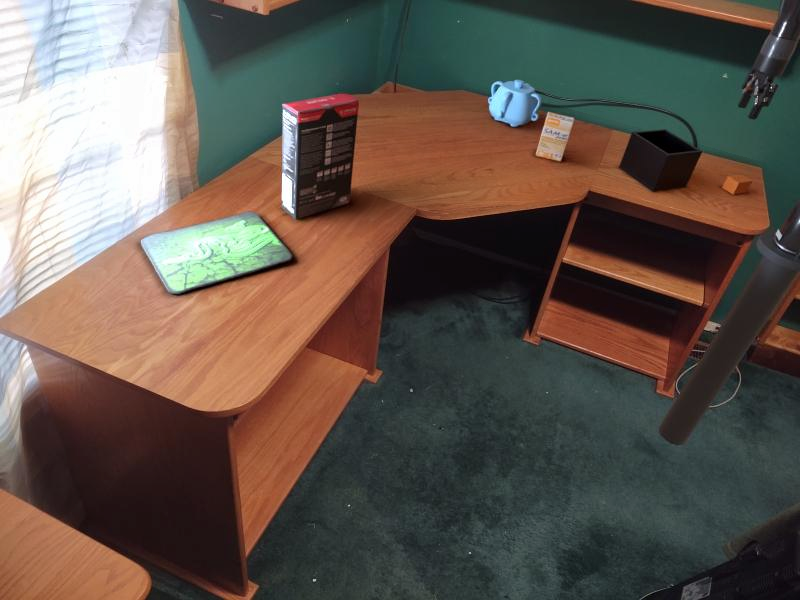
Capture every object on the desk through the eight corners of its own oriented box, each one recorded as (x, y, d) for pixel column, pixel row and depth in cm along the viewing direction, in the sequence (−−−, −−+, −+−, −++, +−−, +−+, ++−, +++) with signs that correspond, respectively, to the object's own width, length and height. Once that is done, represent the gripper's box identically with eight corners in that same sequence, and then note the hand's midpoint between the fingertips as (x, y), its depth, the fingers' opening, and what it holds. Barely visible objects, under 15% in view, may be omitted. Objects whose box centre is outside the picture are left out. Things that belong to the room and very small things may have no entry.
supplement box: (534, 156, 187) (546, 116, 179) (536, 150, 191) (547, 110, 182) (561, 162, 186) (573, 122, 177) (562, 156, 189) (574, 116, 181)
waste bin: (686, 186, 182) (702, 151, 175) (652, 191, 177) (668, 155, 170) (651, 163, 193) (665, 128, 185) (618, 167, 188) (632, 132, 180)
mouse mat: (170, 297, 117) (170, 293, 116) (137, 240, 130) (136, 236, 129) (296, 261, 131) (296, 257, 130) (254, 213, 144) (254, 209, 143)
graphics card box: (336, 192, 156) (342, 89, 139) (353, 204, 152) (360, 99, 135) (280, 209, 146) (279, 101, 129) (296, 222, 143) (297, 113, 125)
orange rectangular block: (746, 192, 184) (752, 180, 181) (732, 194, 182) (739, 182, 179) (735, 185, 187) (741, 174, 184) (721, 187, 185) (727, 176, 182)
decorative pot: (490, 126, 201) (499, 87, 193) (484, 108, 214) (492, 70, 205) (537, 131, 203) (547, 92, 194) (528, 113, 215) (538, 75, 206)
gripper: (800, 64, 152) (768, 124, 163) (779, 48, 164) (750, 105, 174) (771, 60, 153) (741, 120, 163) (752, 44, 164) (725, 101, 174)
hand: (746, 112), depth 168 cm, fingers open, 8 cm apart
